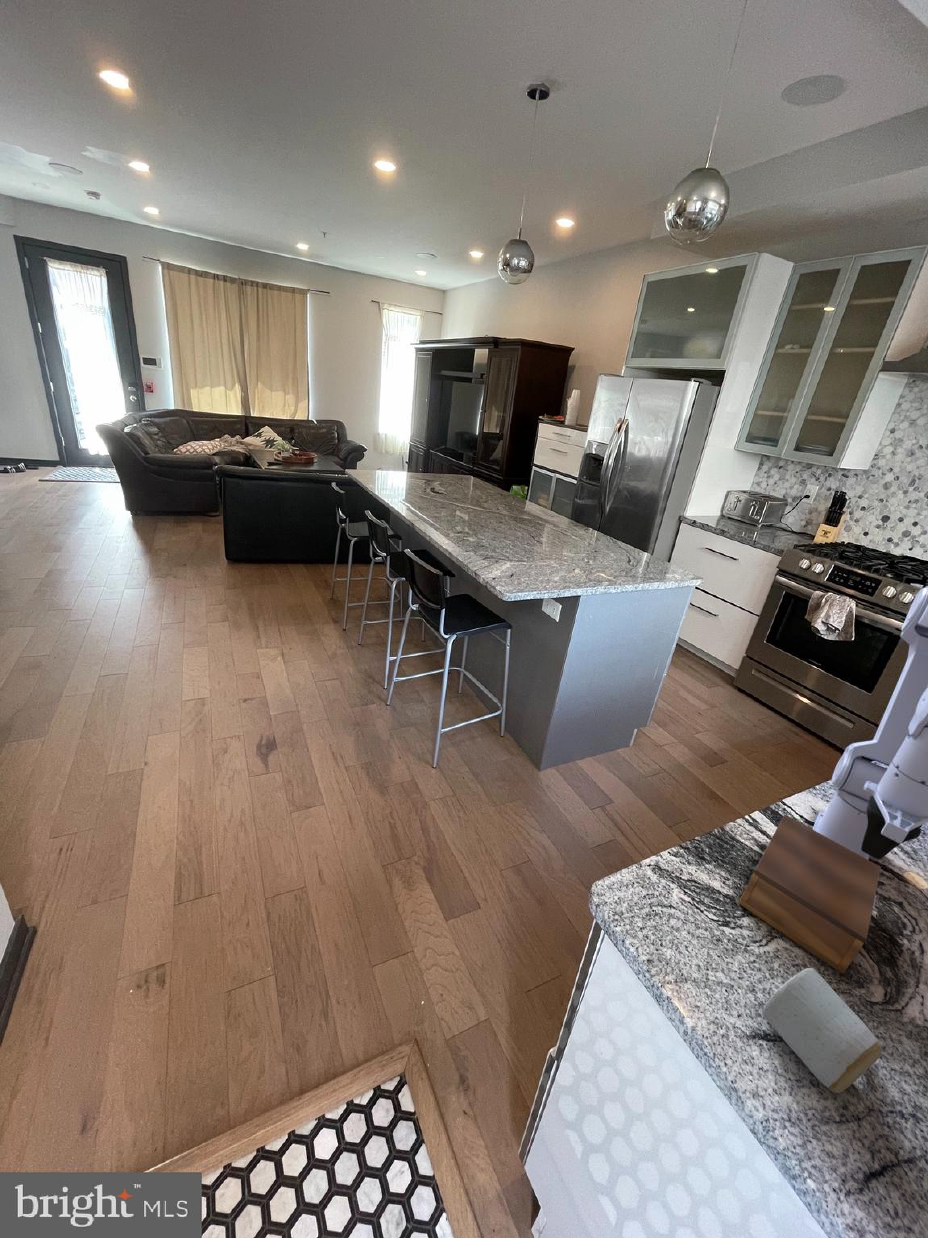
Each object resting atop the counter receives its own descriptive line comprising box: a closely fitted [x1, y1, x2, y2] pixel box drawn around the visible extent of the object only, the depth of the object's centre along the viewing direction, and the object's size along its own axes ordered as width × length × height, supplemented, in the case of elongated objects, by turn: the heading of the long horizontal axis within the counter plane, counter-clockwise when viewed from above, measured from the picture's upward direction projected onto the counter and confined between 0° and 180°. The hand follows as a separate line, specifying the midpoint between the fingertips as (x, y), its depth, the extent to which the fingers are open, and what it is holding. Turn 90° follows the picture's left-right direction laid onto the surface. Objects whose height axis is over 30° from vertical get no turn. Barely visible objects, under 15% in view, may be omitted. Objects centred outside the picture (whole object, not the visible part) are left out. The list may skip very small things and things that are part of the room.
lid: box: [753, 813, 882, 944], centre depth 70 cm, size 16×13×1 cm
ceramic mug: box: [761, 967, 883, 1094], centre depth 54 cm, size 11×8×8 cm
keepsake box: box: [738, 872, 865, 975], centre depth 71 cm, size 16×13×6 cm
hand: (870, 852), depth 69 cm, fingers closed
